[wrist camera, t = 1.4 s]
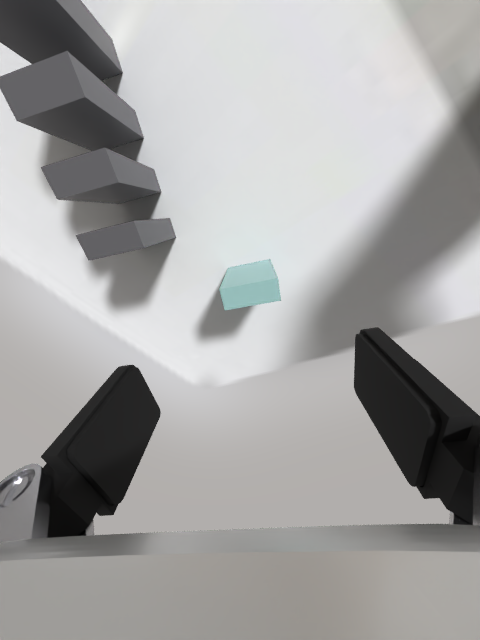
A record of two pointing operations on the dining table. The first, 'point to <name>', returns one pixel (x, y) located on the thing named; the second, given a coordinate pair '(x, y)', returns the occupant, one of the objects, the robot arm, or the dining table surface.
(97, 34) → the domino
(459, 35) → the dining table surface
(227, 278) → the domino teal
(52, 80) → the domino
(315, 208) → the dining table surface
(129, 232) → the domino
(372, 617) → the robot arm
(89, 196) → the domino
